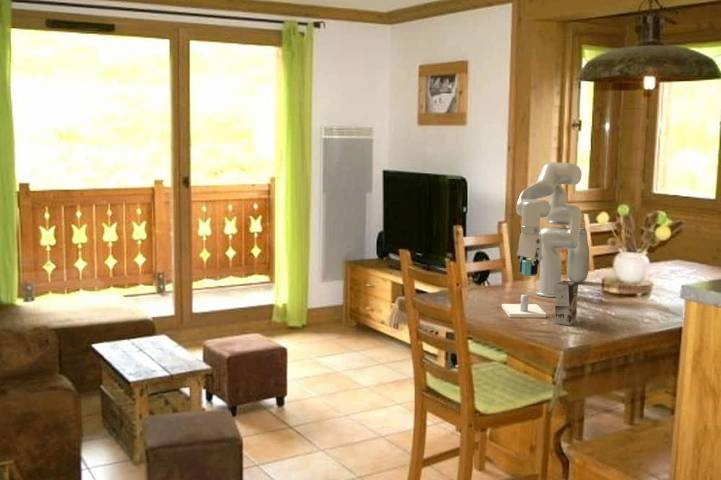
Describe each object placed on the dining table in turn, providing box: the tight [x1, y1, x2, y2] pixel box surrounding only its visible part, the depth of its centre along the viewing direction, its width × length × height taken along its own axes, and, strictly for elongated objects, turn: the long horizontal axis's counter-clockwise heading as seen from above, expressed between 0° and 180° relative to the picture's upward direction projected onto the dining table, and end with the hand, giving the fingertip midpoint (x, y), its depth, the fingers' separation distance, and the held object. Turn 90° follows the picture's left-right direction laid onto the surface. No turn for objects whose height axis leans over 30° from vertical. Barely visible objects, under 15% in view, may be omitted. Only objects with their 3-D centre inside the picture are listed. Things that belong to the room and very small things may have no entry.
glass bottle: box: [566, 226, 590, 284], centre depth 390 cm, size 10×10×28 cm
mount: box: [501, 294, 547, 319], centre depth 327 cm, size 15×18×8 cm
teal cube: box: [520, 259, 537, 277], centre depth 329 cm, size 6×6×6 cm
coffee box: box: [554, 280, 579, 326], centre depth 310 cm, size 9×6×16 cm
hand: (528, 272), depth 329 cm, fingers closed on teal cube, 6 cm apart
